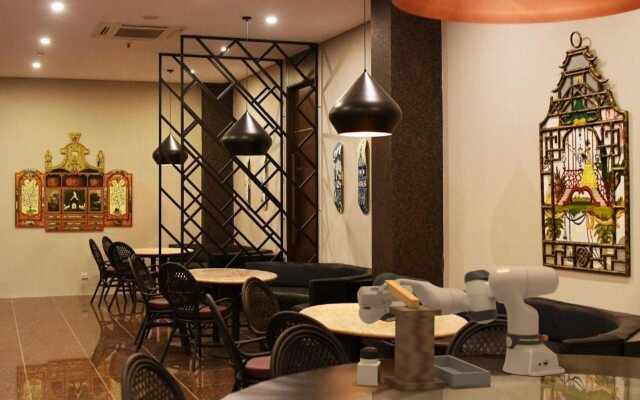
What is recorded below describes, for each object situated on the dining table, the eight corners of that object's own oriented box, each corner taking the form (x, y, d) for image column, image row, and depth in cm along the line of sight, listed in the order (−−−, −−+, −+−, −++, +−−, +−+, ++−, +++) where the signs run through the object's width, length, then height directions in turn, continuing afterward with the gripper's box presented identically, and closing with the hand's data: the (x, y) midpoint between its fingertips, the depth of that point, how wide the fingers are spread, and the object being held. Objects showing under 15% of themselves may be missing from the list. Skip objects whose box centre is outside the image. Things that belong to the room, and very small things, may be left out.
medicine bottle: (377, 386, 271) (378, 350, 271) (356, 385, 272) (357, 349, 272) (380, 381, 278) (381, 346, 278) (360, 380, 279) (360, 346, 279)
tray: (449, 368, 301) (450, 355, 301) (490, 386, 272) (490, 371, 272) (415, 370, 296) (415, 357, 296) (452, 389, 268) (453, 374, 268)
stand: (426, 379, 283) (427, 304, 283) (444, 388, 269) (445, 310, 269) (384, 381, 278) (384, 306, 278) (400, 391, 264) (401, 311, 264)
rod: (391, 287, 296) (392, 280, 296) (418, 308, 274) (419, 299, 273) (384, 288, 295) (384, 280, 295) (410, 308, 273) (411, 299, 272)
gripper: (406, 306, 305) (420, 292, 293) (355, 308, 299) (367, 293, 287) (403, 291, 308) (416, 276, 296) (353, 292, 302) (364, 277, 290)
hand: (392, 284), depth 292 cm, fingers closed on rod, 3 cm apart
